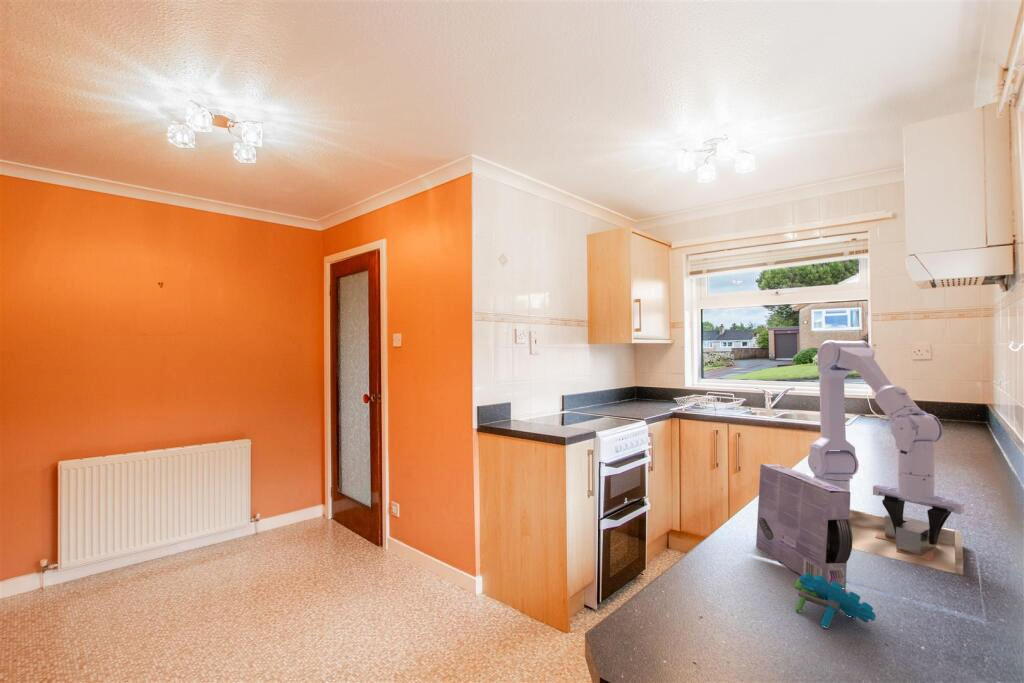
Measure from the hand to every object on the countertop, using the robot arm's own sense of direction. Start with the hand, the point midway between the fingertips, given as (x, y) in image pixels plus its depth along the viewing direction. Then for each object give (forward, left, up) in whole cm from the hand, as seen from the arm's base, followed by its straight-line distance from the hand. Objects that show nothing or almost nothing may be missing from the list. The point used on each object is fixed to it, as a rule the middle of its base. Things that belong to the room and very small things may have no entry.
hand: (915, 538), depth 100 cm
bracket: (-2, +1, -2) cm, 3 cm away
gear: (-8, -42, -3) cm, 43 cm away
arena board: (-4, 0, -3) cm, 5 cm away
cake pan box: (-16, -25, -3) cm, 30 cm away
